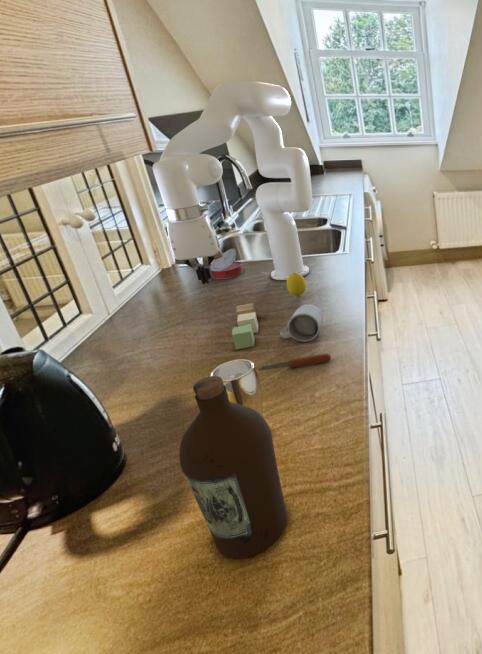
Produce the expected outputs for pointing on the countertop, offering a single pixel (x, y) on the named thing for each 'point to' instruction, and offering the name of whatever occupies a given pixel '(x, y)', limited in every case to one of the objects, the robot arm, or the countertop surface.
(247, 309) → the birch block
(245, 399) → the beer glass
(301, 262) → the robot arm
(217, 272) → the canned food
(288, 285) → the lemon
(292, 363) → the kitchen knife
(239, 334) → the sage block
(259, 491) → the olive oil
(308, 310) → the ceramic mug
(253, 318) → the cream block
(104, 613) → the countertop surface
